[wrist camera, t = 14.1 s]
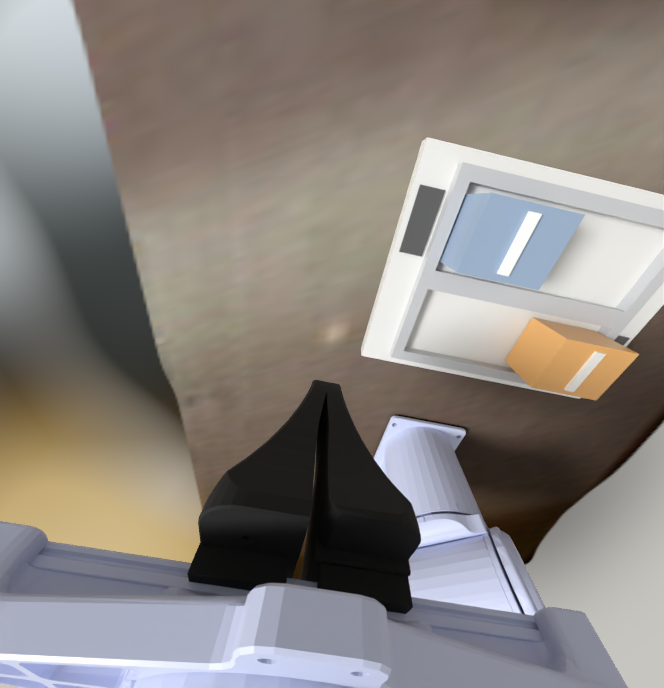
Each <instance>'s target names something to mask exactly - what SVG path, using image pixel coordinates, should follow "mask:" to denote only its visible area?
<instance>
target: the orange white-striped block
mask: <svg viewBox="0 0 664 688" xmlns="http://www.w3.org/2000/svg"><path fill="white" fill-rule="evenodd" d="M638 355H639V354H638V353H636V352H634V351H632V350H630V349H629V348H627V347H625V346H623V345H621V344H619V343H617V342H615V341H613V340H611V339H609V338H607V337H606V336H604V335H602V334H600V333H598V332H596V331H594V330H589V329H585V328H580V327H575V326H571V325H566V324H561V323H556V322H552V321H547V320H542V319H538V318H533V317H532V319H531V320H530V322H529V323H528V325H527V326H526V328H525V330H524V331H523V333H522V334H521V336H520V337H519V339H518V341H517V342H516V344H515V345H514V347H513V348H512V350H511V352H510V353H509V355H508V356H507V358H506V359H505V362H506V363H507V364H508V365H509V366H510V367H511V368H512V369H513V370H514V371H515V372H516V373H517V374H518V375H519V376H520V377H521V378H522V379H523V380H524V381H525V382H526V383H527V384H528V385H529V386H530V387H531V388H536V389H541V390H546V391H551V392H556V393H561V394H566V395H571V396H577V397H582V398H587V399H592V400H597V399H598V398H599V397H600V396H601V395H602V394H603V393H604V392H605V391H606V390H607V389H608V387H609V386H610V385H611V384H612V383H613V382H614V381H615V380H616V379H617V378H618V377H619V376H620V375H621V374H622V372H623V371H624V370H625V369H626V368H627V367H628V366H629V365H630V364H631V363H632V362H633V361H634V360H635V359H636V358H637V356H638Z"/></svg>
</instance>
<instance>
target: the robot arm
mask: <svg viewBox="0 0 664 688" xmlns="http://www.w3.org/2000/svg"><path fill="white" fill-rule="evenodd" d="M393 423H396V424H393ZM465 434H466V431H465V429H464V428H460V427H454V426H449V425H444V424H438V423H433V422H428V421H423V420H417V419H412V418H407V417H401V416H392V417H391V419H390V421H389V423H388V426H387V428H386V430H385V433H384V435H383V437H382V440H381V442H380V444H379V447H378V449H377V451H376V454H375V456H374V458H373V457H372V455H371V454H370V452H369V451H368V449H367V448H366V446H365V444H364V443H363V441H362V439H361V437H360V435H359V434H358V432H357V430H356V428H355V426H354V423H353V421H352V419H351V417H350V414H349V412H348V409H347V407H346V404H345V401H344V398H343V395H342V391H341V387H340V385H339V384H335V383H329V382H324V381H319V380H314V381H313V382H312V385H311V387H310V389H309V391H308V393H307V395H306V397H305V398H304V400H303V401H302V403H301V404H300V406H299V407H298V408H297V410H296V411H295V412H294V413H293V415H292V416H291V417H290V418H289V420H288V421H287V422H286V423H285V424H284V425H283V426H282V427H281V428H280V429H279V430H278V431H277V432H276V433H275V434H274V435H273V436H272V437H271V438H270V439H269V440H268V441H267V442H266V443H264V444H263V445H262V446H261V447H260V448H258V449H257V450H256V451H255V452H253V453H252V454H251V455H250V456H248V457H247V458H246V459H244V460H243V461H241V462H240V463H238V464H237V465H235V466H234V467H232V468H231V469H230V470H228V471H227V472H226V473H225V474H224V475H223V477H222V478H221V479H220V481H219V482H218V483H217V485H216V486H215V488H214V489H213V491H212V492H211V494H210V496H209V497H208V499H207V501H206V503H205V505H204V508H203V510H202V512H201V514H200V516H199V521H198V524H199V533H200V542H201V543H200V545H199V547H198V549H197V552H196V554H195V557H194V559H193V561H192V563H187V562H181V561H174V560H167V559H161V558H154V557H148V556H141V555H134V554H128V553H122V552H115V551H109V550H102V549H95V548H89V547H83V546H76V545H70V544H63V543H56V542H50V541H48V538H47V536H46V534H45V533H44V532H43V531H42V530H40V529H38V528H36V527H32V526H28V525H21V524H15V523H8V522H2V521H0V684H3V685H9V686H15V687H21V688H628V687H627V685H626V684H625V682H624V680H623V678H622V677H621V675H620V673H619V671H618V670H617V668H616V667H615V664H614V663H613V661H612V659H611V658H610V656H609V654H608V652H607V651H606V649H605V648H604V645H603V644H602V642H601V640H600V639H599V637H598V635H597V633H596V632H595V630H594V628H593V626H592V625H591V623H590V621H589V619H588V618H587V616H586V614H585V613H583V612H581V611H574V610H568V609H562V608H554V607H548V608H545V606H544V604H543V602H542V600H541V597H540V596H539V593H538V591H537V589H536V587H535V585H534V583H533V581H532V579H531V577H530V575H529V573H528V571H527V569H526V567H525V565H524V563H523V561H522V559H521V557H520V555H519V553H518V551H517V549H516V547H515V545H514V543H513V541H512V540H511V538H510V536H509V535H508V534H506V533H504V532H503V531H500V529H499V528H498V527H494V528H491V529H490V530H489V529H488V527H487V525H486V523H485V522H484V520H483V517H482V515H481V513H480V510H479V508H478V506H477V503H476V501H475V499H474V496H473V494H472V492H471V489H470V487H469V485H468V482H467V480H466V478H465V475H464V473H463V471H462V468H461V466H460V464H459V461H458V459H457V457H456V454H455V452H454V451H455V450H456V448H457V447H458V445H459V444H460V442H461V441H462V439H463V438H464V436H465ZM458 435H459V436H458ZM316 443H317V447H316ZM315 453H316V469H315V482H314V489H313V479H314V465H315ZM312 495H313V496H312ZM307 528H308V532H307V538H306V545H305V552H304V559H303V565H302V572H301V578H300V580H298V579H292V577H293V573H294V570H295V567H296V563H297V560H298V559H299V555H300V552H301V549H302V545H303V542H304V538H305V535H306V531H307Z"/></svg>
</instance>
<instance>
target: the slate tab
mask: <svg viewBox="0 0 664 688" xmlns="http://www.w3.org/2000/svg"><path fill="white" fill-rule="evenodd" d="M584 216H585V215H584V214H580V213H576V212H571V211H567V210H563V209H559V208H555V207H550V206H546V205H542V204H538V203H533V202H529V201H525V200H521V199H516V198H512V197H508V196H504V195H499V194H495V193H478V194H465V196H464V199H463V201H462V204H461V206H460V209H459V212H458V214H457V217H456V219H455V222H454V224H453V227H452V229H451V232H450V234H449V237H448V240H447V242H446V245H445V247H444V250H443V252H442V255H441V257H440V260H439V261H440V262H441V263H443V264H444V265H446V266H448V267H449V268H451V269H452V270H454V271H455V272H457V273H462V274H467V275H471V276H476V277H480V278H485V279H489V280H494V281H499V282H503V283H508V284H512V285H517V286H521V287H526V288H531V289H535V290H539V289H540V288H541V286H542V284H543V283H544V281H545V279H546V278H547V276H548V275H549V273H550V271H551V270H552V268H553V266H554V265H555V263H556V262H557V260H558V258H559V257H560V255H561V253H562V252H563V250H564V249H565V247H566V245H567V244H568V242H569V240H570V239H571V237H572V236H573V234H574V232H575V231H576V229H577V227H578V226H579V224H580V223H581V221H582V219H583V218H584Z"/></svg>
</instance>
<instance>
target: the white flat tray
mask: <svg viewBox="0 0 664 688" xmlns="http://www.w3.org/2000/svg"><path fill="white" fill-rule="evenodd" d="M478 193H495V194H499V195H504V196H508V197H512V198H516V199H521V200H525V201H529V202H533V203H538V204H542V205H546V206H550V207H555V208H559V209H563V210H567V211H571V212H576V213H580V214H584V215H585V216H584V218H583V219H582V221H581V223H580V224H579V226H578V227H577V229H576V231H575V232H574V234H573V236H572V237H571V239H570V240H569V242H568V244H567V245H566V247H565V249H564V250H563V252H562V253H561V255H560V257H559V258H558V260H557V262H556V263H555V265H554V266H553V268H552V270H551V271H550V273H549V275H548V276H547V278H546V279H545V281H544V283H543V284H542V286H541V288H540V289H539V290H535V289H531V288H526V287H521V286H517V285H512V284H508V283H503V282H499V281H494V280H489V279H485V278H480V277H476V276H471V275H467V274H462V273H457V272H455V271H454V270H452V269H451V268H449V267H448V266H446V265H444V264H443V263H441V262H440V261H439V260H440V257H441V255H442V252H443V250H444V247H445V245H446V242H447V240H448V237H449V234H450V232H451V229H452V227H453V224H454V222H455V219H456V217H457V214H458V212H459V209H460V206H461V204H462V201H463V199H464V196H465V194H478ZM663 305H664V195H662V194H658V193H654V192H650V191H646V190H642V189H638V188H633V187H629V186H625V185H621V184H617V183H613V182H609V181H605V180H601V179H596V178H592V177H588V176H584V175H580V174H576V173H572V172H568V171H564V170H560V169H555V168H551V167H547V166H543V165H539V164H535V163H531V162H527V161H523V160H518V159H514V158H510V157H506V156H502V155H498V154H494V153H490V152H486V151H481V150H477V149H473V148H469V147H465V146H461V145H457V144H453V143H449V142H444V141H440V140H436V139H432V138H428V137H427V138H426V139H425V140H424V141H422V144H421V147H420V150H419V154H418V157H417V161H416V164H415V167H414V171H413V174H412V177H411V181H410V184H409V188H408V191H407V194H406V198H405V201H404V205H403V208H402V211H401V215H400V218H399V222H398V225H397V228H396V232H395V235H394V238H393V242H392V245H391V249H390V252H389V255H388V259H387V262H386V266H385V269H384V272H383V276H382V279H381V283H380V286H379V289H378V293H377V296H376V299H375V303H374V306H373V310H372V313H371V316H370V320H369V323H368V327H367V330H366V333H365V337H364V340H363V344H362V347H361V354H362V356H366V357H371V358H376V359H381V360H386V361H391V362H396V363H401V364H406V365H411V366H416V367H421V368H427V369H432V370H437V371H442V372H447V373H452V374H457V375H462V376H467V377H472V378H477V379H482V380H487V381H492V382H497V383H502V384H507V385H512V386H517V387H522V388H527V389H532V390H537V391H543V392H548V393H553V394H558V395H563V396H568V397H573V398H578V399H580V398H581V397H577V396H571V395H566V394H561V393H556V392H551V391H546V390H541V389H536V388H531V387H530V386H529V385H528V384H527V383H526V382H525V381H524V380H523V379H522V378H521V377H520V376H519V375H518V374H517V373H516V372H515V371H514V370H513V369H512V368H511V367H510V366H509V365H508V364H507V363H506V362H505V359H506V358H507V356H508V355H509V353H510V352H511V350H512V348H513V347H514V345H515V344H516V342H517V341H518V339H519V337H520V336H521V334H522V333H523V331H524V330H525V328H526V326H527V325H528V323H529V322H530V320H531V319H532V317H533V318H538V319H542V320H547V321H552V322H556V323H561V324H566V325H571V326H575V327H580V328H585V329H589V330H594V331H596V332H598V333H600V334H602V335H604V336H606V337H607V338H609V339H611V340H613V341H615V342H617V343H619V344H621V345H623V346H625V347H626V346H627V345H628V344H629V343H630V342H631V341H632V339H633V338H634V337H635V336H636V335H637V334H638V333H639V332H640V330H641V329H642V328H643V327H644V326H645V325H646V324H647V323H648V321H649V320H650V319H651V318H652V317H653V316H654V315H655V314H656V312H657V311H658V310H659V309H660V308H661V307H662V306H663Z"/></svg>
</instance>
